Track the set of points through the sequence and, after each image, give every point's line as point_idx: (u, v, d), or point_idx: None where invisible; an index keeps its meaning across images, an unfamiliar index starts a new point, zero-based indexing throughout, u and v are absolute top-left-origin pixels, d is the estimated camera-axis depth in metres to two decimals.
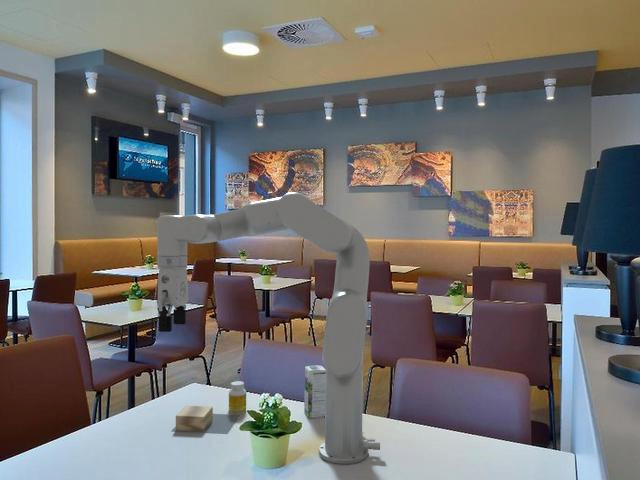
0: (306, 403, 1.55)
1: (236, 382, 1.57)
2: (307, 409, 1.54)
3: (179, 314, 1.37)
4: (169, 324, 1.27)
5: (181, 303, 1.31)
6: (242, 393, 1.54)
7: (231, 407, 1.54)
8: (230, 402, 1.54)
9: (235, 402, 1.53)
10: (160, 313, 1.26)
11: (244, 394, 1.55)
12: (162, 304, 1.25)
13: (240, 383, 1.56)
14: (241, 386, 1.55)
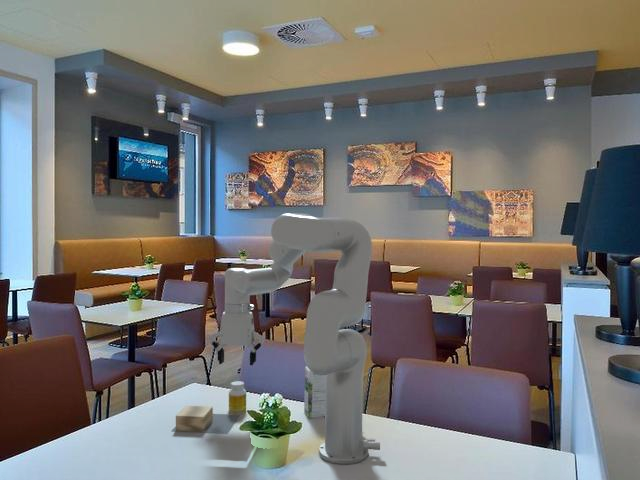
0: (306, 403, 1.55)
1: (236, 382, 1.57)
2: (307, 409, 1.54)
3: (222, 354, 1.56)
4: None
5: None
6: (242, 393, 1.54)
7: (231, 407, 1.54)
8: (230, 402, 1.54)
9: (235, 402, 1.53)
10: (257, 349, 1.55)
11: (244, 394, 1.55)
12: None
13: (240, 383, 1.56)
14: (241, 386, 1.55)
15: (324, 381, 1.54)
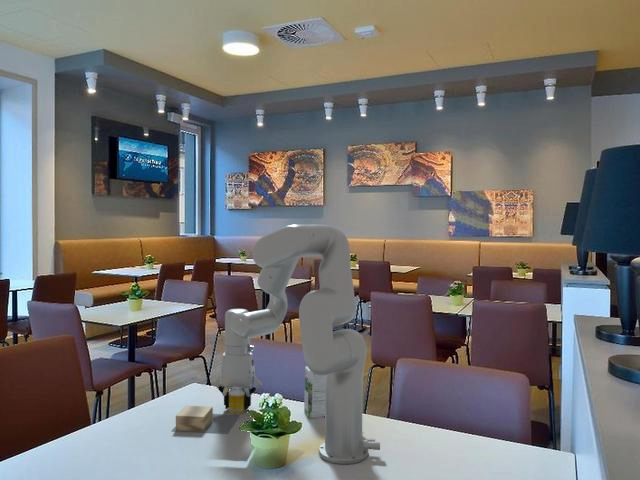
0: (306, 403, 1.55)
1: None
2: (307, 409, 1.54)
3: None
4: None
5: None
6: (242, 393, 1.54)
7: (231, 407, 1.54)
8: (230, 402, 1.54)
9: (235, 402, 1.53)
10: (252, 393, 1.55)
11: (244, 394, 1.55)
12: None
13: None
14: None
15: (324, 381, 1.54)
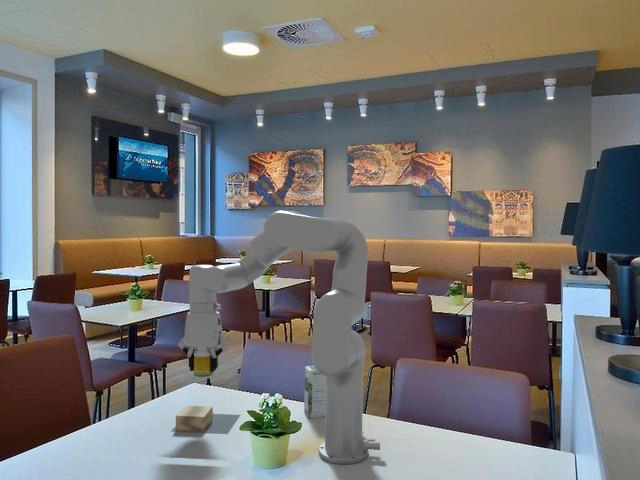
0: (306, 403, 1.55)
1: None
2: (307, 409, 1.54)
3: None
4: None
5: None
6: (208, 354, 1.44)
7: (196, 369, 1.44)
8: (195, 363, 1.44)
9: (200, 364, 1.43)
10: (218, 354, 1.45)
11: (210, 355, 1.45)
12: None
13: None
14: None
15: (324, 381, 1.54)
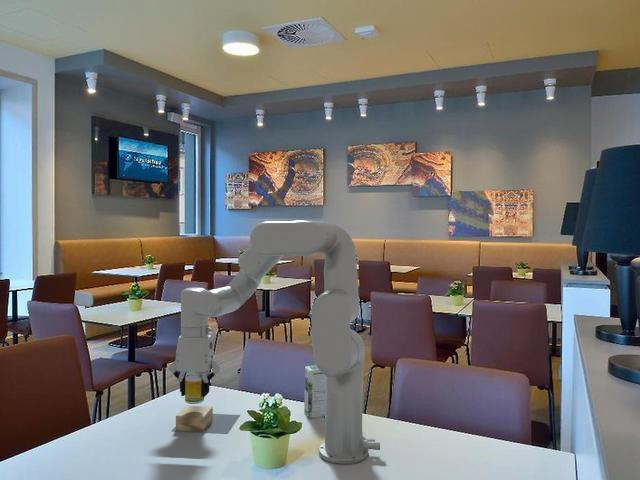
0: (306, 403, 1.55)
1: None
2: (307, 409, 1.54)
3: None
4: None
5: None
6: (199, 379, 1.42)
7: (187, 394, 1.42)
8: (186, 388, 1.42)
9: (191, 388, 1.41)
10: None
11: (201, 380, 1.43)
12: None
13: None
14: None
15: (324, 381, 1.54)
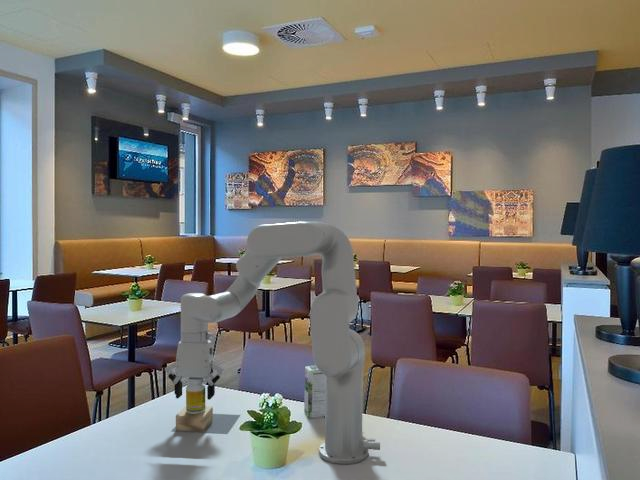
0: (306, 403, 1.55)
1: None
2: (307, 409, 1.54)
3: (180, 387, 1.44)
4: None
5: None
6: (200, 389, 1.42)
7: (188, 404, 1.42)
8: (187, 398, 1.42)
9: (192, 399, 1.41)
10: None
11: (203, 390, 1.43)
12: None
13: (198, 378, 1.43)
14: (199, 381, 1.42)
15: (324, 381, 1.54)
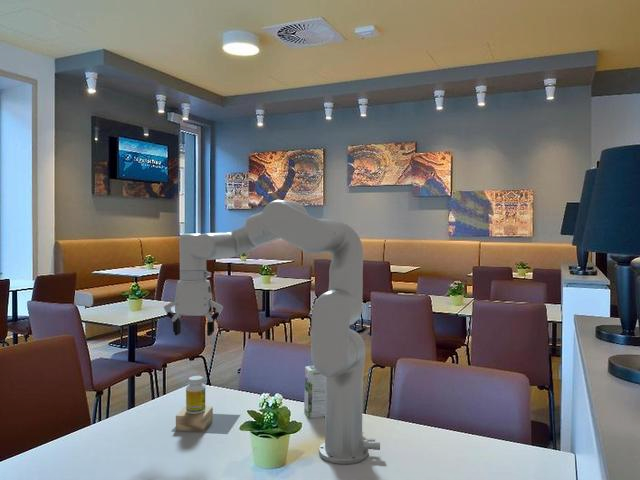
0: (306, 403, 1.55)
1: (194, 377, 1.44)
2: (307, 409, 1.54)
3: (178, 325, 1.48)
4: None
5: None
6: (200, 389, 1.42)
7: (188, 404, 1.42)
8: (187, 398, 1.42)
9: (192, 399, 1.41)
10: (215, 318, 1.46)
11: (203, 390, 1.43)
12: None
13: (198, 378, 1.43)
14: (199, 381, 1.42)
15: (324, 381, 1.54)
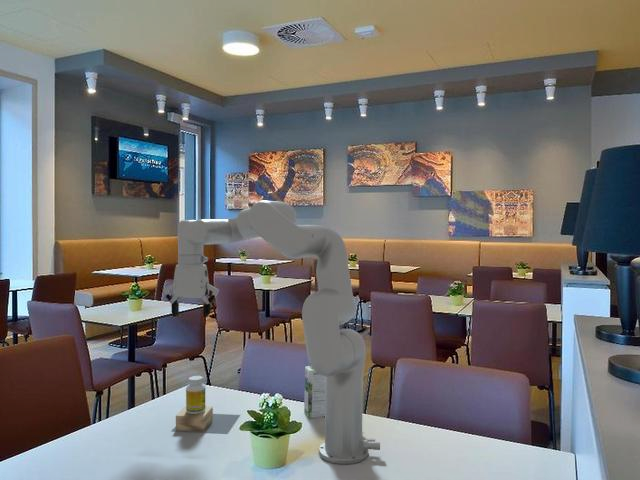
0: (306, 403, 1.55)
1: (194, 377, 1.44)
2: (307, 409, 1.54)
3: (177, 307, 1.55)
4: None
5: None
6: (200, 389, 1.42)
7: (188, 404, 1.42)
8: (187, 398, 1.42)
9: (192, 399, 1.41)
10: (211, 301, 1.54)
11: (203, 390, 1.43)
12: None
13: (198, 378, 1.43)
14: (199, 381, 1.42)
15: (324, 381, 1.54)
